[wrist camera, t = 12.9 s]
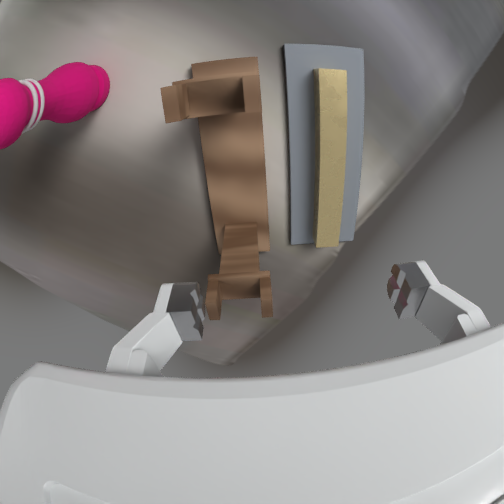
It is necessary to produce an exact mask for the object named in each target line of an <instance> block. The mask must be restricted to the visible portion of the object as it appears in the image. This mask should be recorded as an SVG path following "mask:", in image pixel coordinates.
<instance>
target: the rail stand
mask: <svg viewBox="0 0 504 504" xmlns="http://www.w3.org/2000/svg"><path fill="white" fill-rule="evenodd" d="M191 66H192V75H193V79H187V80H182V81H176V82H172V85H173V86H168V87H163V88H161V95H162V102H163V109H164V115H165V121H166V123H171V122H177V121H181V120H183V119H189V118H196V117H198V123H199V130H200V138H201V145H202V152H203V159H204V165H205V172H206V179H207V185H208V191H209V198H210V204H211V210H212V216H213V222H214V228H215V234H216V240H217V246H218V251H219V254H222V255H221V263H220V271H219V274H209V275H208V287H207V293H206V300H205V305H206V308H207V312H208V315H209V319H210V320H220V315H221V304H222V300H226V299H244V298H260V297H261V309H262V318H263V317H273V309H272V292H271V282H270V271H260V267H259V252H260V251H270V244H269V224H268V205H267V187H266V170H265V154H264V139H263V124H262V105H261V92H260V79H259V71H258V59H257V57H246V58H234V59H225V60H216V61H209V62H202V63H196V64H191Z"/></svg>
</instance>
